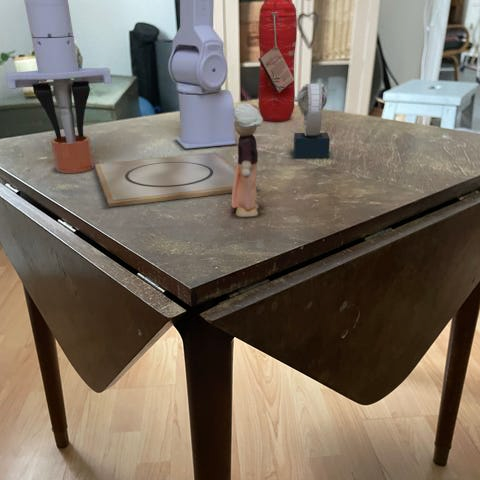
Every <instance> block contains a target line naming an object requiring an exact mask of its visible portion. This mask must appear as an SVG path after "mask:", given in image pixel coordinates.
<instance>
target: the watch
mask: <svg viewBox="0 0 480 480" xmlns="http://www.w3.org/2000/svg"><path fill="white" fill-rule="evenodd" d="M327 101H328V91H327V89H326V88H325V85H324V84H323V83H306V84H304V85H303V86H302V87H300V89H299V90H298V91H297V95H296V96H295V100H294V103H296V102H297V105H298V107H299V109H300V111H299V112H300V114H301V116H302V117H303V131H304V132H294V133H293V156H294V159H329V155H330V143H331V141H330V140H331V138H330V136H329V133H328V132H321V129H322V119H323V113H322V112H323V109H324V108H325V106H326V104H327V103H328V102H327Z"/></svg>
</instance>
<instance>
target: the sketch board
mask: <svg viewBox="0 0 480 480" xmlns="http://www.w3.org/2000/svg"><path fill="white" fill-rule="evenodd" d="M94 168H95V171H96V174H97V177H98V179H99V183H100V185H101V188H102V191H103V194H104V197H105V200H106V202H107V205H108V207H109V208H114V207H115V208H116V207H122V206H131V205H140V204H148V203H157V202H166V201H174V200H182V199H192V198H200V197H210V196H217V195H226V194H232V190H233V184H234V178H235V173H236V168H235V167H234V166H233V165H231V163H229V162H228V161H227V160H226V159H225V158H223V157H222V156H221V155H220V154H219V153H217V152H207V153H197V154H187V155H186V154H185V155H176V156H165V157H155V158H145V159H144V158H143V159H135V160H134V159H133V160H123V161H112V162H104V163H103V162H102V163H94Z"/></svg>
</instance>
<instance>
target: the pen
mask: <svg viewBox="0 0 480 480" xmlns="http://www.w3.org/2000/svg"><path fill="white" fill-rule="evenodd" d="M69 81H70V79H57V80H52V82H53V85H54V86H52V92H53V94H54V98H55V103H56V105H57V107H58V113H59V118H60V120H61V126H62V129H63V133H64V136H65V137H66V141H67V143H71V142H76V136H75V135H76V128H75V118H74V115H75V114H74V110H73V93H72V88H71V87H72V86H71V85H69V84H70V83H69Z"/></svg>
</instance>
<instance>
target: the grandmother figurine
mask: <svg viewBox="0 0 480 480" xmlns="http://www.w3.org/2000/svg"><path fill="white" fill-rule="evenodd" d="M263 122H264V119H263V118H262V116H261V113H260V110H259V109H258V108H256V107H255V106H253V105H252V104H251V103H250V104H249V103H247V102H246V103H245V102H244V103H243V102H242V103H240V104H238V105H236V106H235V107H234V131H235V132H236V134H238V135H239V137H238V142H237V143H238V144H237V166H236V168H235V169H236V173H235V178H234V184H233V190H232V193H231V201H230V206H231V208H232V209H234V208H235V209H236V211H235V216H237V217H239V218H249V217H256V216H258V215H259V210H258V209H259V208H260V206H259V204H258V203H257V201H258V197H257V195H258V194H257V184H256V181H257V174H258V173H257V172H258V160H259V159H258V157H259V153H258V147H257V145H258V144H257V140H256V137H255V136H254V134H255V133H256V130H257V128H258V127H261V126H262V124H263Z"/></svg>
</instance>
